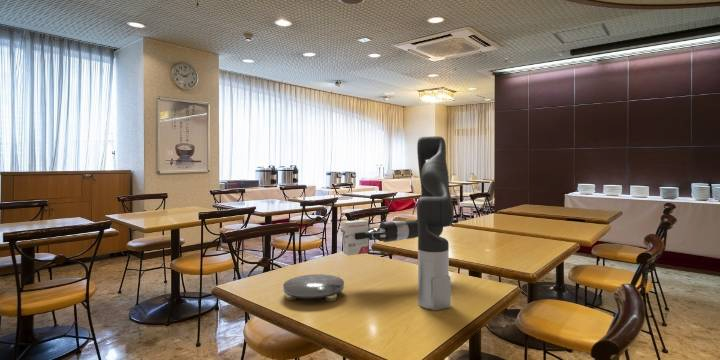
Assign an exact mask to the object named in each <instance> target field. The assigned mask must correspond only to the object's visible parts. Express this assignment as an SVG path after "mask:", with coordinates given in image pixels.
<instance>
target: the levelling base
mask: <svg viewBox="0 0 720 360" xmlns="http://www.w3.org/2000/svg"><path fill="white" fill-rule="evenodd" d="M282 288H283V292H284V294H286V296H285V298H286V300H287V301H295V300H297V299H311V300H312V299H321V298H324V299H325V301H326V302H328V303H330V302H335V301H337V300H338V299H337V298H338V296H337V294H339V293H341V292H343V290H344V289H345V281H344V280H343V279H342V278H341V277H339V276H335V275H331V274H322V273H320V274H316V273H315V274H305V275H300V276H295V277H292V278H290V279H288V280H286V281H285V282H284V283H283V287H282Z"/></svg>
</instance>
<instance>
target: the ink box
mask: <svg viewBox="0 0 720 360" xmlns="http://www.w3.org/2000/svg"><path fill="white" fill-rule="evenodd" d="M341 226H342V227H341V228H342V246H343V247H342V250H343V252H342V253H343V254H345V255H346V256H354V255H363V254H369V253H370V242H369V241H370V240H369V239H368V240H367V239H366V238H365V239H359V240H356V239H355V233H365V232H368V227H369V221H368V220H364V219H360V220H359V219H358V220H357V219H356V220H347V221H342V225H341Z"/></svg>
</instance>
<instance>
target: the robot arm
mask: <svg viewBox="0 0 720 360" xmlns="http://www.w3.org/2000/svg"><path fill="white" fill-rule="evenodd" d="M416 148H417V149H416V150H417V151H416V152H417V163H418V172H419V180H420V188H421V189H420V190H421V196H420V197H419V198H418V199H417V202H416V218H417V219H413V220H392V221H382V222H381V223H380V224H379V227H377V226H372V227H371V226H368V232H365V233H355V239H356V240H359V239H365V238H366V239H367V240H368V239H369V241H375V240H376V241H377V240H381V241H382V242H384V243H389V242H390V243H391V242H400V241H405V240H410V239H416V238H417V275H418V276H417V290H418V292H417V293H418V294H417V295H418V297H417V298H418V299H417V300H418V305H419V307H421V308H424V309H427V310H432V311H439V310H444V309H450V308H451V307H452V306H451V295H452V294H451V293H452V291H451V275H450V272H449V271H450V270H449V268H450V267H449V264H450V263H449V261H450V260H449V257H450V256H449V250H450V249H449V248H450V246H449V245H450V244H449V240H448V239H447V238H445V237H442V236H441V235H442V234H443V230H444V228H446V227H449V226H450V227H451V225H452V223H453V221H454V217H455V211H454V205H453V200H452V195H451V191H450V182H449V181H450V178H449V171H448V165H447V146H446V141H445V138H444V137H442V136H438V135H437V136H436V135H435V136H420V137H418V140H417V145H416Z"/></svg>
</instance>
